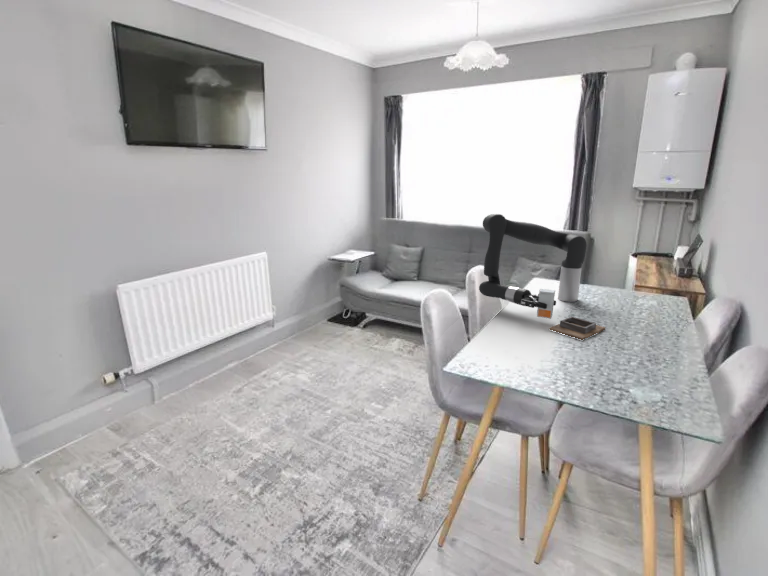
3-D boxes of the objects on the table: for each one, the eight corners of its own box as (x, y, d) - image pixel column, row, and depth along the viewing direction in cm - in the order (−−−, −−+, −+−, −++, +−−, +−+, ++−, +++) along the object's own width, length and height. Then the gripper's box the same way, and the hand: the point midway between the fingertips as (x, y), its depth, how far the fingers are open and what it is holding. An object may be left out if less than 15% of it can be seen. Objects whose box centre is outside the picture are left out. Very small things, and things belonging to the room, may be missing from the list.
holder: (572, 320, 174) (573, 313, 173) (605, 330, 163) (606, 322, 162) (549, 330, 163) (549, 322, 162) (582, 341, 153) (583, 332, 152)
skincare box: (536, 317, 172) (538, 291, 168) (537, 314, 175) (540, 288, 172) (551, 319, 169) (554, 292, 166) (552, 316, 173) (555, 289, 169)
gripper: (508, 291, 177) (542, 300, 164) (528, 285, 185) (561, 293, 172) (507, 306, 179) (540, 316, 166) (526, 300, 187) (559, 309, 174)
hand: (551, 304), depth 169 cm, fingers closed on skincare box, 6 cm apart
